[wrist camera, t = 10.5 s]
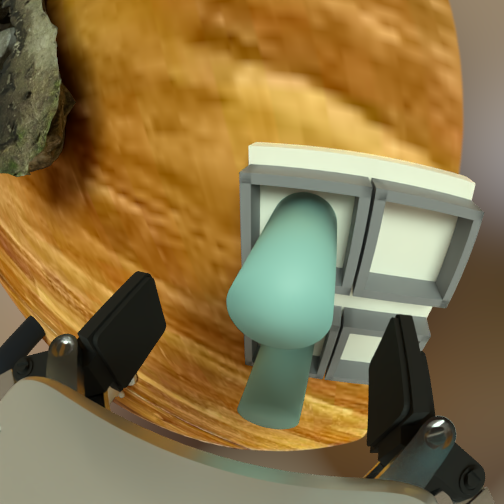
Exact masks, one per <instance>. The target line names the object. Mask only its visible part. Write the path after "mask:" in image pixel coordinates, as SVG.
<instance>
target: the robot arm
mask: <svg viewBox="0 0 504 504" xmlns="http://www.w3.org/2000/svg"><path fill="white" fill-rule="evenodd" d="M165 329H166V322H165V319H164V315H163V312H162V308H161V304H160V301H159V297H158V293H157V289H156V285H155V281H154V279H153V278H152V276H151V275H150V274H148V273H144V272H139V271H137V272H135V273H134V274H133V275H132V276H131V277H130V278H129V279H128V280H127V281H126V282H125V283H124V284H123V285H122V286H121V287H120V288H119V289H118V290H117V291H116V292H115V293H114V294H113V296H112V297H111V298H110V299H109V300H108V301H107V302H106V303H105V304H104V305H103V306H102V307H101V308H100V309H99V310H98V311H97V312H96V313H95V315H94V316H93V317H92V318H91V319H90V320H89V321H88V322H87V323H86V324H85V325H84V327H83V328H82V329H81V330H80V331H79V332H78V333H77V334H78V336H79V338H78V339H76V337H75V336H73V335H71V334H63V335H60V336H58V337H56V338H55V339H54V340H53V341H52V342H51V344H50V346H49V350H48V351H45V352H42V353H38V354H33V355H29V356H25V357H23V358H21V359H19V360H18V361H17V362H16V364H15V366H14V368H13V371H12V369H10V370H8V371H6V372H5V373H3V374H1V375H0V504H495V502H494V500H493V498H492V496H491V494H490V492H489V490H488V488H487V487H486V488H484V487H483V485H484V481H485V472H484V469H483V468H482V466H481V465H480V464H479V463H478V462H477V461H475V460H474V459H473V458H472V457H471V456H470V455H469V454H467V453H466V452H465V451H464V450H463V449H461V447H460V446H458V445H457V444H456V443H455V440H456V430H455V427H454V425H453V423H452V422H451V421H450V420H449V419H447V418H445V417H443V416H435V410H434V402H433V395H432V388H431V383H430V376H429V370H428V365H427V360H426V356H425V353H424V352H423V351H420V347H419V342H418V338H417V333H416V329H415V325H414V321H413V317H412V316H411V315H404V314H397V315H396V316H395V318H394V317H392V318H391V319H390V321H389V323H388V326H387V328H386V330H385V332H384V334H383V337H382V339H381V341H380V343H379V345H378V347H377V349H376V351H375V353H374V355H373V357H372V359H371V362H370V364H369V402H368V429H367V446H371V448H370V453H378V461H379V462H378V463H377V464H376V465H375V466H374V467H373V468H372V469H371V470H370V471H369V472H368V473H367V474H366V475H365V476H364V477H363V478H348V477H332V476H321V475H312V474H304V473H295V472H289V471H282V470H276V469H271V468H266V467H261V466H256V465H252V464H247V463H243V462H239V461H235V460H232V459H228V458H224V457H221V456H217V455H214V454H211V453H208V452H205V451H201V450H198V449H196V448H193V447H190V446H187V445H184V444H181V443H179V442H176V441H173V440H171V439H168V438H166V437H164V436H161V435H159V434H156V433H154V432H152V431H150V430H148V429H145V428H143V427H141V426H139V425H137V424H135V423H132V422H130V421H128V420H126V419H124V418H123V417H121V416H119V415H117V414H115V413H113V412H111V411H110V404H111V402H112V401H113V399H114V398H115V396H117V397H118V396H119V397H120V398H123V397H124V396H125V393H124V392H123V391H122V390H123V388H126V387H127V386H128V385H134V384H135V382H136V381H137V376H136V373H137V371H138V370H139V368H140V367H141V365H142V364H143V362H144V361H145V359H146V358H147V356H148V355H149V353H150V352H151V350H152V349H153V347H154V346H155V345H156V343H157V342H158V340H159V339H160V337H161V336H162V334H163V333H164V331H165Z"/></svg>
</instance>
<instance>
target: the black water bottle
mask: <svg viewBox="0 0 504 504" xmlns="http://www.w3.org/2000/svg"><path fill="white" fill-rule="evenodd" d="M44 335H45V332H44V330H43V328H42V327H41V326H40V324H39V323H38V322H37V321H36V320H35V319H34V318H33V317H32V316H29V317H28V318H27V319H26V320H25V321H24V322H23V323H22V324H21V325H20V327H19V328H18V329H17V330H16V331H15V332H14V333H13V334H12V335H11V336H10V337H9V338H8V339H7V340H6V342H5V343H4V344H3V345H2V346H1V347H0V375H1V374H3V373H5V372H6V371H8V370H10V369H12V371H13V368H14V366H15V364H16V362H17V361H18V360H19V359H21V358H23V357H25V356H27V355H28V353H29V352H30V351H31V350H32V349H33V348H34V346H35V345H36V344H37V343H38V342H39V341H40V340H41V339H42V338H43V336H44Z"/></svg>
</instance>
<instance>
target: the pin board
mask: <svg viewBox="0 0 504 504" xmlns="http://www.w3.org/2000/svg"><path fill="white" fill-rule="evenodd" d="M239 174H240V219H241V256H242V266H243V264H244V263H245V261H246V259H247V257H248V256H249V254H250V252H251V250H252V248H253V247H254V245H255V243H256V241H257V240H258V238H259V236H260V234H261V232H262V231H263V229H264V227H265V225H266V224H267V222H268V220H269V218H270V217H271V215H272V213H273V211H274V209H275V208H276V206H277V204H278V203H279V202H280V201H281V200H282V199H283V198H285V197H286V196H288V195H290V194H293V193H297V192H308V193H313V194H316V195H318V196H320V197H322V198H323V199H325V200H326V201H327V202H328V203H329V204H330V205H331V207H332V208H333V210H334V212H335V214H336V218H337V258H336V281H335V297H334V311H333V321H332V325H331V327H330V329H329V331H328V333H327V334H326V335H325V336H324V337H323V338H322V339H321V340H320V341H318V342H316V343H315V344H313V345H310V346H308V347H304V348H300V349H277V348H272V347H268V346H265V345H263V344H260V343H258V342H256V341H254V340H252V339H251V338H249V337H248V336H246V335H245V334H244V346H245V364H246V365H250V366H253V368H252V371H251V374H250V376H249V379H248V382H247V385H246V387H245V390H244V393H243V395H242V398H241V400H240V403H239V406H238V408H237V410H238V413H239V414H240V415H241V416H242V417H243V418H244V419H246V420H248V421H249V422H251V423H254V424H256V425H259V426H262V427H266V428H272V429H289V428H293V427H295V426H297V425H298V423H299V419H300V415H301V411H302V406H303V401H304V397H305V392H306V387H307V382H308V377H312V378H318V379H323V376H324V373H325V371H326V373H325V380H332V381H340V382H348V383H358V384H368V385H369V364H370V362H371V359H372V357H373V355H374V353H375V351H376V349H377V347H378V345H379V343H380V341H381V339H382V337H383V334H384V332H385V330H386V328H387V326H388V323H389V321H390V319H391V318H392V317H394V318H395V316H396V315H397V314H404V315H411V316H412V317H413V321H414V325H415V329H416V333H417V338H418V342H419V347H420V351H422V350H423V348H424V346H425V345H426V343H427V341H428V340H429V338H430V336H431V335H430V331H429V327H428V323H427V319H426V318H427V316H428V314H429V312H430V310H431V308H432V307H441V308H446V307H447V305H448V303H449V301H450V299H451V297H452V295H453V293H454V291H455V289H456V287H457V284H458V282H459V280H460V278H461V276H462V273H463V271H464V268H465V266H466V264H467V261H468V258H469V256H470V253H471V251H472V248H473V245H474V243H475V239H476V237H477V234H478V230H479V227H480V224H481V221H482V218H483V215H484V212H483V211H482V210H481V209H480V208H479V207H478V206H477V205H475V204H474V203H473V202H472V201H471V200H472V196H473V192H474V188H475V183H474V182H473V181H471V180H470V179H469V178H467V177H466V176H462V175H459V174H456V173H452V172H449V171H445V170H441V169H437V168H434V167H430V166H426V165H421V164H417V163H413V162H408V161H404V160H399V159H394V158H389V157H384V156H378V155H372V154H367V153H360V152H354V151H347V150H340V149H332V148H324V147H315V146H305V145H294V144H280V143H263V142H255V143H253V144H251V145H249V165H248V166H247V167H246V168H244V169H243V170H242V171H240V172H239Z"/></svg>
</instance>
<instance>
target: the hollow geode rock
mask: <svg viewBox="0 0 504 504" xmlns="http://www.w3.org/2000/svg"><path fill="white" fill-rule="evenodd" d="M57 31H58V27H57V26H55V25H53V24H52V23H51V21H50V19H49V17H48V15H47V12H46V7H45V2H44V0H0V173H8V174H11V175H13V176H16V177H20V176H24V175H30V172H33V171H36V170H39V169H43V168H46V167H48V166H51V164H52V163H53V162H54V161H55V160H56V159H57V158H58V156H59V154H60V153H61V151H62V149H63V144H64V138H65V129H64V128H65V124H66V117H67V115H68V114H69V112H70V110H71V109H72V107H73V106H74V105H75V103H76V102H75V100H74V98H73V97H72V95H71V93H70V92H69V90H68V89H67V88H66V87H65V85H64V84H63V83H62V82H61V74H60V73H59V67H58V59H57V56H56V54H57V49H56V48H57V43H56V36H57Z"/></svg>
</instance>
